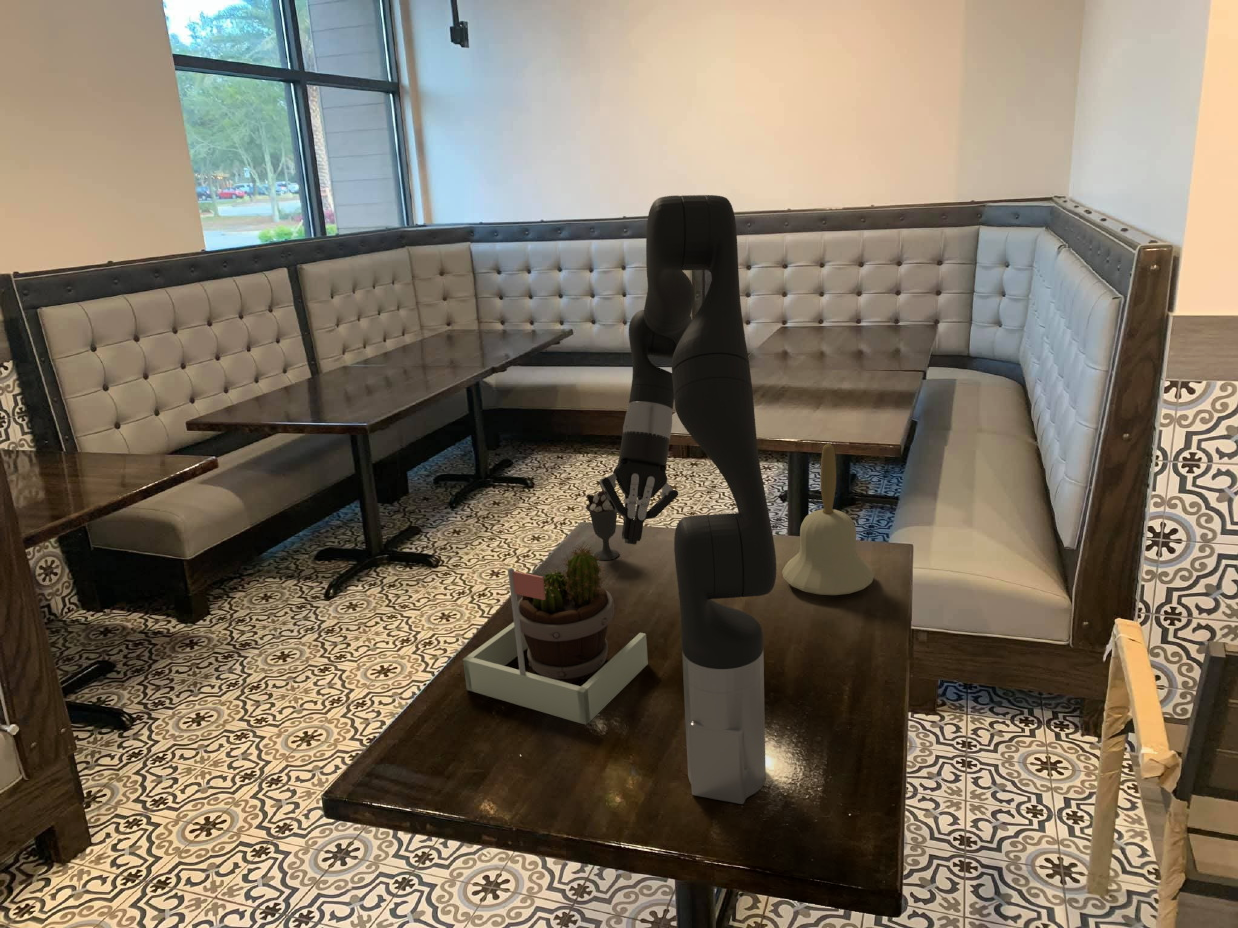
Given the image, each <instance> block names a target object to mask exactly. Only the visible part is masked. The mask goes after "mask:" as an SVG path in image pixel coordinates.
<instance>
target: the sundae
mask: <svg viewBox="0 0 1238 928" xmlns="http://www.w3.org/2000/svg"><path fill="white" fill-rule="evenodd" d="M586 496H587V497H586V498H587V499H588V503H587V504H586V505H585V509H586V511H588V512H589V515H590V519H591V524H592V529H593V531H594V533H595V535H596V536H597V538H600V539H602V548H601V550H598V551H596V552H595V553H593V556H594V557H596V556H597V557H599V556H600V557H599V559H600V560H601V561H602V560H607V561H612V560H611V559H613V558H616V557H617V558H619V557H618V555H619V553H620V552H619V551H617V550H616V549H611V547H610V542H609V540H610V538H612V537H613V536H614V534H615V533H616V529H617V520H618V519H617V517H618V516H617V515H618V513H615V512H614V510H613V508H612V507H611V505H610V503H609V501H608V499H607V497H606V496H605V494H604V492H603V490H602V489H601V491H599V492H597V493H596V494H594V495H592V494H587V495H586ZM619 556H620V555H619ZM617 558H616V559H617ZM599 559H597V560H598V561H600V560H599ZM613 560H614V559H613Z"/></svg>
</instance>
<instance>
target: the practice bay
mask: <svg viewBox="0 0 1238 928" xmlns="http://www.w3.org/2000/svg"><path fill="white" fill-rule="evenodd" d="M507 573H508V582H509V590H510V600H511V608H512V618H513V622H511V623H510V624H509V625H507V627H505V628H504V629H502V630H501V631H499V632H498V633H497V634H495V635H494V636H492V637H491V638H490V639H488V640H487V641H486V642H484V643H482V644H481V645H480V646H479V647H477V648H476V649H475V650H473V651H472V652H470V653H469V654H467V656H465V657H464V658H462V664H463V671H464V679H465V685H466V686H465V687H466V691H469V692H473V693H475V694H476V693H477V694H480V695H483V696H486V697H490V698H493V699H496V700H501V701H503V702H508V703H511V704H514V705H517V706H520V707H524V708H527V709H530V710H531V709H532V710H534V711H538V712H542V713H544V714H547V715H548V714H549V715H551V716H555V717H558V718H562V719H564V720H568V721H571V722H574V723H578V724H582V725H584V726H587V725H588V724H589V723H590V722H591V721H592V720H593V719H594V718H595V717H596V716H597V715H598V714H599V713H600V712H601V711H602V710H603V709H604V708H606V706H607V705H608V704H609V703H610V702H611V701H612V700H613V699H614V698H615V697H616V696H617V695H618V694H619V693H620V692H621V691H622V690H623V689H624V688H626V686H628V684H630V682H631V681H632V680H633V679H635V678H636V677H637V675H639V674H640V673H641V672H642V670H643V669H645V668H646V666H648V664H649V659H648V644H647V633H643V632H639V633H638V634H637V635H635V636H634V637H633V639H631V640H630V641H629V642H628V643H627V644H626V645H625V646H624V647H622V648H621V649H620V650H619V651H618V652H617V653H616V654H614V656H612V658H611V659H610V660H608V661H607V662H606V663H605V664H603V665H602V666H601V667H600V668H599V669H598V671H597V672H596V673H595V674H594V675H592V676H590V677H589V678H588V679H587V681H586V682H585V683H583V684H582V685H581V686H579V685H576V684H572V683H566V682H562V681H558V680H554V679H551V678H547V677H543V676H541V675H540V674H536V673H532V672H528V671H526V665H525V654H524V651H526V650H528V648H529V647H528V645H527V642H526V640H525V637H524V634H523V633H522V632H521V627H520V618H519V609H518V601H519V600H518V596H522V597H523V596H528V597H532V598H537V599H541V600H545V589H544V576H543V575H541V576H540V575H536V574H533V573H532V574H531V573H525V572H521V571H515V569H514V568H513V567H509V568H508V569H507ZM516 658H517V662H518V669H516V668H513V667H510V666H506V665H508V664H509V663H511V662H512V661H513V660H514V659H516Z"/></svg>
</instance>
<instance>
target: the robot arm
mask: <svg viewBox="0 0 1238 928" xmlns="http://www.w3.org/2000/svg"><path fill="white" fill-rule="evenodd" d="M735 216H736V215H735V211H734V207H733V205H732V204H731V202H730V199H728V198H727V197H725V196H722V195H717V194H715V195H713V194H696V195H695V194H694V195H692V194H690V195H685V194H684V195H683V194H682V195H667V196H666V195H665V196H661V197H657V198H656V199H655V200H654V201H653V202H652V204H651V206H650V208H649V211H648V215H647V219H646V220H647V221H646V234H645V236H646V238H645V240H646V241H645V243H646V244H645V247H646V248H645V249H646V250H645V251H646V252H645V256H646V262H645V263H646V278H647V281H646V282H647V292H646V297H645V302H644V308H643V309H641V310H638V311H637V312H635V314H634V315H633V316H632V318H631V319H630V320H629V324H628V340H629V347H630V353H631V361H632V375H631V376H632V378H631V379H632V380H631V387H630V394H629V401H628V407H627V410H626V412H625V417H624V421H623V422H624V423H623V425H622V435H621V443H620V448H619V456H618V462H617V465H616V467H615V468H614V469H613V473H612V474H610V475H608V476H607V477H603V478H600V479H599V481H598V485H599V486H600V488H601V491H602V490H603V492H604V494H605V496H606V497H607V499H608V501H609V503H610V505H611V507H612V508H613V510H614V512H615V513H617V515H620V516H621V517H622V518H623V523H622V529H621V530H622V531H621V538H622V540H624V544H628V545H637V543H638V542H641V540H642V536H643V529H644V528H643V527H644V523H645V521H646V520H649V519H650V520H651V519H655V518H657V516H659V515H660V514H661V513H662V512H663V511H664V510H665V509H666V508H667V507H668V506H669V505H670V504H671V503H672V502H673V501H674V500H676V498H678V496H679V492H678V490H676V489H674V488H673V487H672V486H671V485H670V484H669V483H668V476H667V472H666V471H667V463H668V462H667V461H668V455H669V449H670V442H671V435H672V428H673V410H674V409H675V413H676V415H677V417H678V419H679V421H680V423H681V424H682V426H683V428H684V429H685V431H687V433H688V434H689V435H690V437H691V438H692V439H693V441H695V443H696V444H697V445H698V446H699V447H700V449H701V450H702V451H703V452H704V453H705V454H706V455H707V457H708V458H709V459H710V460H711V462H712V463H713V464H714V466H716V468H717V470H718V471H719V472H720V475H721V476H722V477H723V479H724V481H725V482H726V484H727V486H728V488H729V490H730V492H731V495H732V497H733V499H734V502H735V506H736V508H737V511H738V512H735V513H734V512H731V513H718V514H701V515H690V516H685V517H682V518H681V519H680V520H679V521H678V523H677V525H676V527H675V532H674V536H673V538H674V540H673V542H674V544H673V545H674V546H673V549H674V563H675V571H676V581H677V589H678V598H679V606H680V607H679V608H680V612H679V613H680V629H681V631H680V632H681V635H680V636H681V639H680V640H681V653H682V656H681V657H682V675H683V677H682V678H683V680H682V681H683V695H684V698H683V699H684V719H685V738H686V739H685V740H686V741H685V742H686V756H687V757H686V759H687V761H686V762H687V776H688V780H689V781H688V782H689V783H690V785H691V794H692V796H696V797H700V798H701V797H702V798H708V799H712V800H718V801H723V802H728V803H734V804H739V805H744V804H745V802H746V800H747V798H750V797H751V796H753V795H755V794H756V793H757V792H759V790H761V789H762V788H763V786H764V785H765V782H766V780H767V779H766V772H767V770H766V767H767V766H766V728H765V726H766V725H765V724H766V723H765V722H766V721H765V677H764V676H765V675H764V672H765V671H764V669H765V668H764V667H765V664H764V663H765V662H764V632H763V629H762V628H763V627H762V626H761V624H760V622H759V621H758V620H757V619H756V618H755V617H753V616H752V615H751V614H748V613H747V612H745V611H742V610H739V609H737V608H732V607H729V606H726V605H723V604H721V603H719V602H716V601H714V600H716V599H717V600H719V599H735V598H748V597H749V598H750V597H751V598H752V597H759V596H766V595H768V594H770V593H771V592H772V590H773V588H775V587H774V586H775V584H776V581H777V580H776V579H777V556H776V547H775V542H774V536H773V528H772V523H771V518H770V513H769V506H768V501H767V496H766V492H765V483H764V480H763V473H762V469H761V463H760V457H759V449H758V439H757V437H758V436H757V427H756V415H755V405H754V404H755V402H754V391H753V386H752V385H753V383H752V376H751V367H750V359H749V354H748V347H747V340H746V334H745V328H744V320H743V313H742V305H741V292H740V289H741V288H740V274H739V271H740V269H739V253H738V236H737V235H738V234H737V233H738V232H737V223H736V217H735ZM685 271H709V273H710V275H711V281H710V284H709V288H708V290H707V292H706V294H705V297H704V299H703V301H702V303H701V305H700V307H699V309H698V311H697V312H696V314H695V315H694V316H693V318H692V316H691V313H692V311H693V307H694V305H695V299H696V297H695V289H694V288H695V287H694V285H693V283H692V280H691V279H690V278H689V277H688V275H687V274H686V273H685ZM648 356H653V357H662V358H667V359H671V371H668V370H666V369H663V368H661V367H659V366H656V365H655V364H653V363H652V361H651V360H650V359H649V357H648ZM617 484H618V486H619V488H620V490H621V492H622V494H623V495H624V501H623V502H624V504H623V502H622V500H621V498H620V496H619V494H618V493H617V491H616V487H617ZM660 490H661V492H660ZM659 492H660V497H661V498H660V499H658V501H656V502H655V503H654V505H653V506H651V507H650V509H648V508H649V505H650V502H651V499H652V498H653V497H655V496H656V495H657V493H659Z"/></svg>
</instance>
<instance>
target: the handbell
mask: <svg viewBox="0 0 1238 928" xmlns="http://www.w3.org/2000/svg"><path fill="white" fill-rule="evenodd" d="M821 452H822V453H821V461H820V477H819V478H820V480H819V481H820V492H821V493H820V494H821V500H822V505H823V508H821V509H817V510H814V511H812V512H810V513H808V514H807V515H806V516H805V517H804V519H803V521H802V522H801V525H800V530H799V538H800V539H799V540H800V542H799V543H800V547H799V551H798V553H796V555H795V556H793V557H792V558H791V559H790V560H788V562H786V563H785V565H784V568H783V570H782V571H781V574H782V576H783V579H784V580H785V582H787V583H788V584H789V585H790V587H792V588H795V589H798V590H800V591H803V592H804V593H809V594H816V595H825V596H838V595H840V596H841V595H847V594H848V595H849V594H852V593H856V592H860V591H862V590H864V589H865V588H867V587H868V586H870V585H871V584H872V582H873V581H874V578H875V573H874V571H873V570H872V567H871V565H870V564H869V563H867V561H865V560H864V559H863V558H862V557H861V556H860V555H858V553H857V543H856V542H857V528H856V525H855V523H854V521H853V519H852V518H851V517H850V516H849V515H848V514H847V513H845V512H843V511H842V510H841V511H840V510H838V509H833V507H834V501H835V495H836V488H837V467H836V466H837V465H836V455H835V453H836V452H835V448H834V446H833V445H832V444H831V443H826V444H825V445H824V446H823V447H822V451H821Z"/></svg>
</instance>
